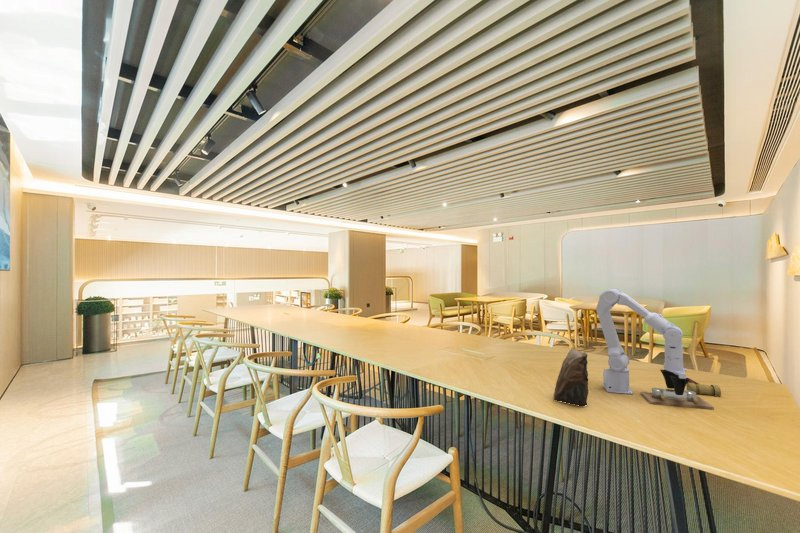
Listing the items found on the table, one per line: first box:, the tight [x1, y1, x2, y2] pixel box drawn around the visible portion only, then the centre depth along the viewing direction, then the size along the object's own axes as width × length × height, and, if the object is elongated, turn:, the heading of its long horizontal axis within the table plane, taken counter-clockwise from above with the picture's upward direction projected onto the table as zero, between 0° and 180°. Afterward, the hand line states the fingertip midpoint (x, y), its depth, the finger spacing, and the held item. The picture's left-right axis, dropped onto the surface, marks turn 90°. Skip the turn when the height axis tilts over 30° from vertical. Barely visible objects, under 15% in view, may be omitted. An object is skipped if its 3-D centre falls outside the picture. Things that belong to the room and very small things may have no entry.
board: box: [639, 391, 715, 411], centre depth 135 cm, size 20×11×3 cm, turn 72°
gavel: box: [686, 377, 722, 398], centre depth 150 cm, size 21×5×10 cm
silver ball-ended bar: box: [651, 387, 697, 402], centre depth 135 cm, size 14×4×3 cm, turn 72°
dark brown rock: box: [553, 347, 589, 407], centre depth 137 cm, size 13×13×20 cm
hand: (674, 391), depth 135 cm, fingers open, 7 cm apart
